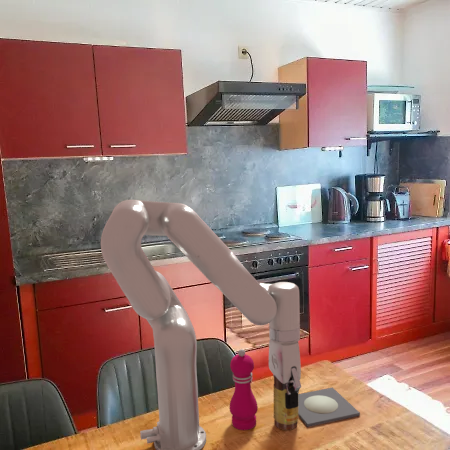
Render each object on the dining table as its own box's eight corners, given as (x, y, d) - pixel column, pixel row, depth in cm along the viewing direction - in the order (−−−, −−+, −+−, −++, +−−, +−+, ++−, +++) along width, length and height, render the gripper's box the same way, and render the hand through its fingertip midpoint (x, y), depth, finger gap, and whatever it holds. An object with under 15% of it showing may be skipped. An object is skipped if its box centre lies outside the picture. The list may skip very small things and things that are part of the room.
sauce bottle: (290, 434, 110) (289, 358, 107) (269, 426, 114) (267, 352, 111) (303, 421, 115) (302, 348, 112) (282, 414, 119) (280, 343, 116)
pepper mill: (256, 432, 111) (253, 356, 108) (227, 430, 113) (224, 355, 110) (259, 416, 118) (257, 344, 115) (232, 414, 120) (230, 343, 117)
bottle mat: (307, 427, 113) (307, 423, 113) (284, 399, 126) (284, 396, 126) (359, 415, 117) (359, 412, 117) (332, 390, 130) (332, 387, 130)
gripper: (258, 323, 118) (259, 386, 121) (284, 348, 102) (286, 421, 104) (284, 319, 120) (285, 382, 123) (314, 343, 104) (315, 415, 106)
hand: (285, 399), depth 113 cm, fingers closed on sauce bottle, 6 cm apart
